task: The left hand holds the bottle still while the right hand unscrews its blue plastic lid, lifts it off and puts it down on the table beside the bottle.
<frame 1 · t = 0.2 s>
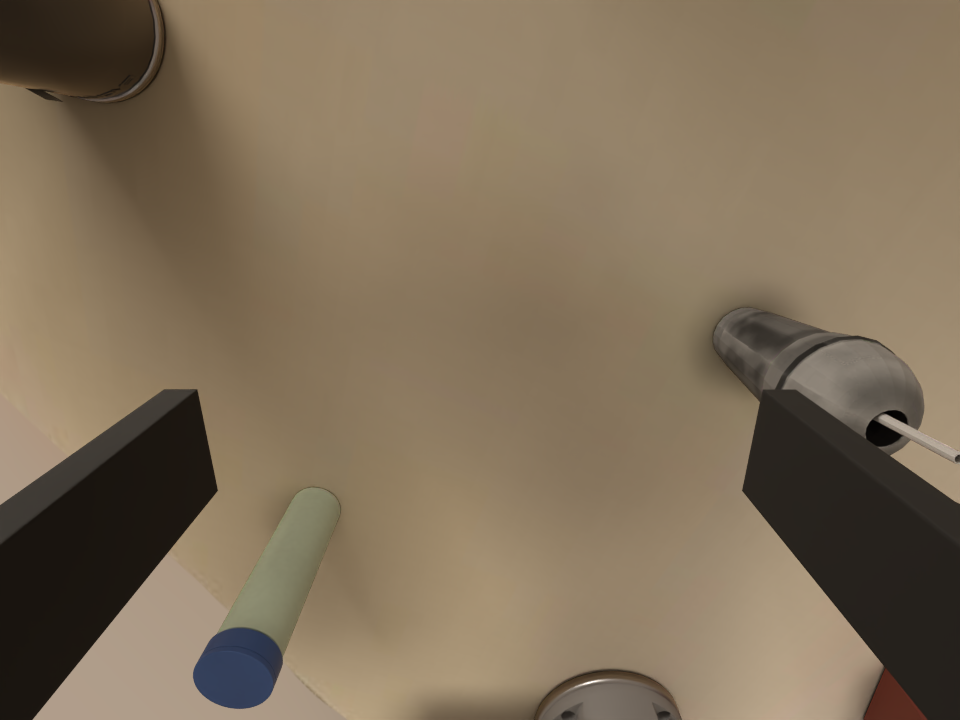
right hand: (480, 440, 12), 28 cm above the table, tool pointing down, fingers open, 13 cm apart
bottle: (316, 507, 46), on the table
beverage cup: (741, 334, 41), on the table
bucket: (945, 690, 54), on the table
lid: (235, 675, 31), point 16 cm above the table, screwed on, not yet turned
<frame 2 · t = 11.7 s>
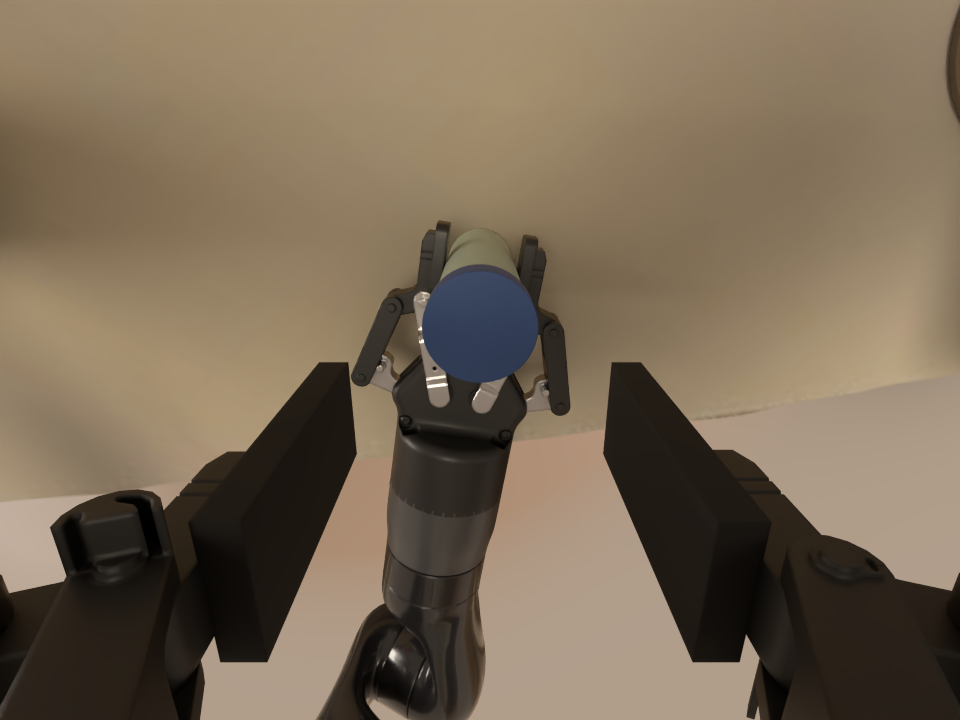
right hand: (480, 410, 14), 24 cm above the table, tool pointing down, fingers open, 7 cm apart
left hand: (486, 231, 30), fingers closed on bottle, 4 cm apart
bottle: (479, 260, 37), on the table, touching left hand
lid: (480, 326, 21), point 16 cm above the table, screwed on, not yet turned
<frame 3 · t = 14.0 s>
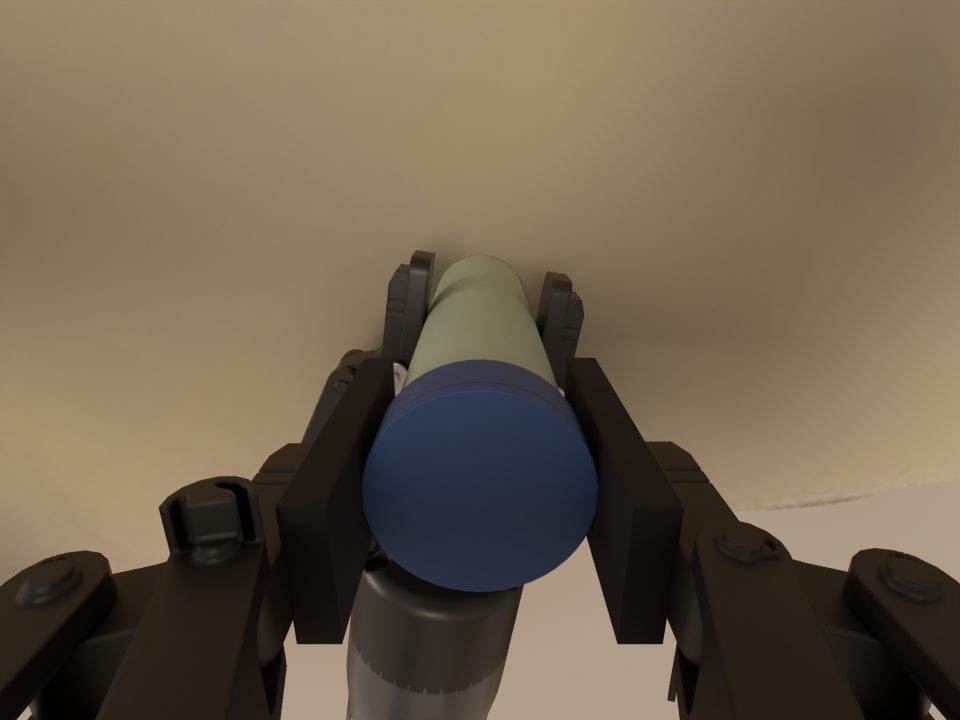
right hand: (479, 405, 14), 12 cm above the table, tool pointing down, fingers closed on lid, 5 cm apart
bottle: (479, 298, 26), on the table, touching left hand
lid: (479, 488, 11), point 16 cm above the table, screwed on, not yet turned, touching right hand
when the right hand's fingers open (13 cm above the table, at t = 15.1 s): lid stays where it is, point 16 cm above the table.
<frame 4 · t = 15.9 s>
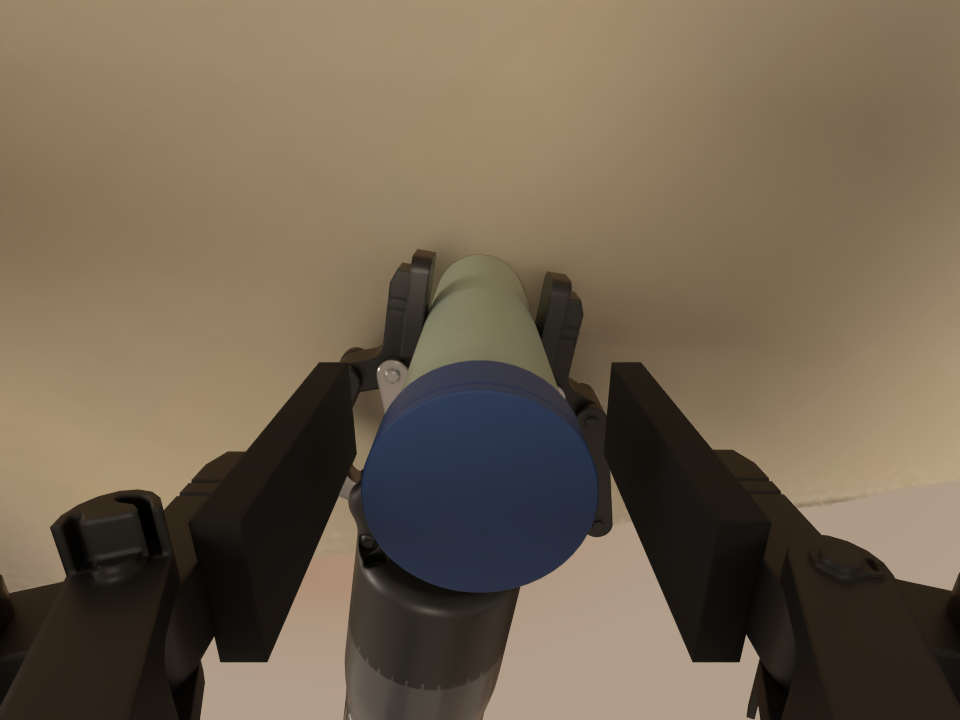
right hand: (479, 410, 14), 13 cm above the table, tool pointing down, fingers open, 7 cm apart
bottle: (479, 298, 26), on the table, touching left hand
lid: (479, 489, 11), point 16 cm above the table, turned 73° so far, risen 0.2 cm, still on its thread
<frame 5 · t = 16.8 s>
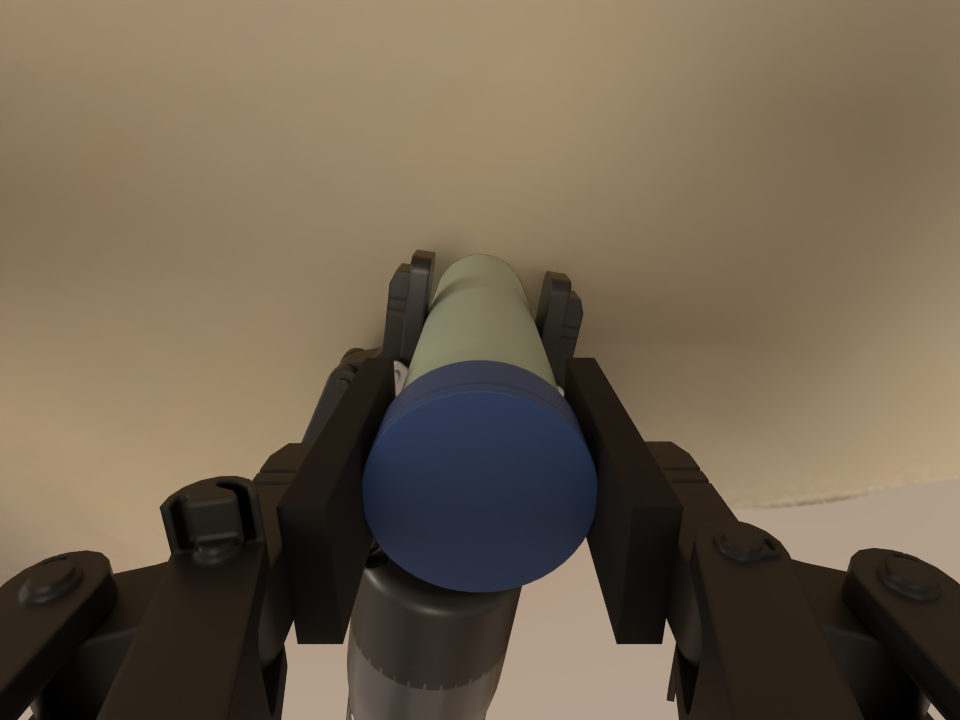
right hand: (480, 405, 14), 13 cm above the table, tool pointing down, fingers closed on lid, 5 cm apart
bottle: (479, 298, 26), on the table, touching left hand
lid: (479, 489, 11), point 16 cm above the table, turned 73° so far, risen 0.2 cm, still on its thread, touching right hand
when the right hand's fingers open (0 cm above the table, at t = 24.0 s): lid drops 3 cm, point 1 cm above the table.
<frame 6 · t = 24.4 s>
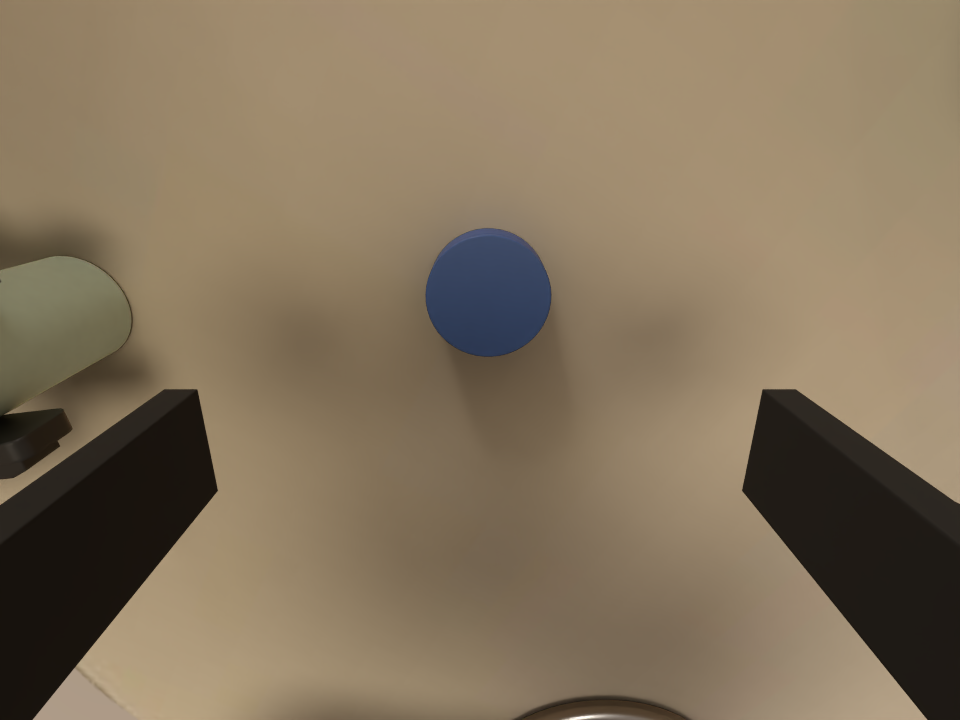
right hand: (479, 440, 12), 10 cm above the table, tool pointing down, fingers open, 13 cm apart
bottle: (78, 308, 21), on the table, touching left hand
lid: (488, 296, 20), point 1 cm above the table, off its thread
when the left hand's fingers open (6 cm above the table, at t = 24.6 s): bottle stays where it is, on the table.
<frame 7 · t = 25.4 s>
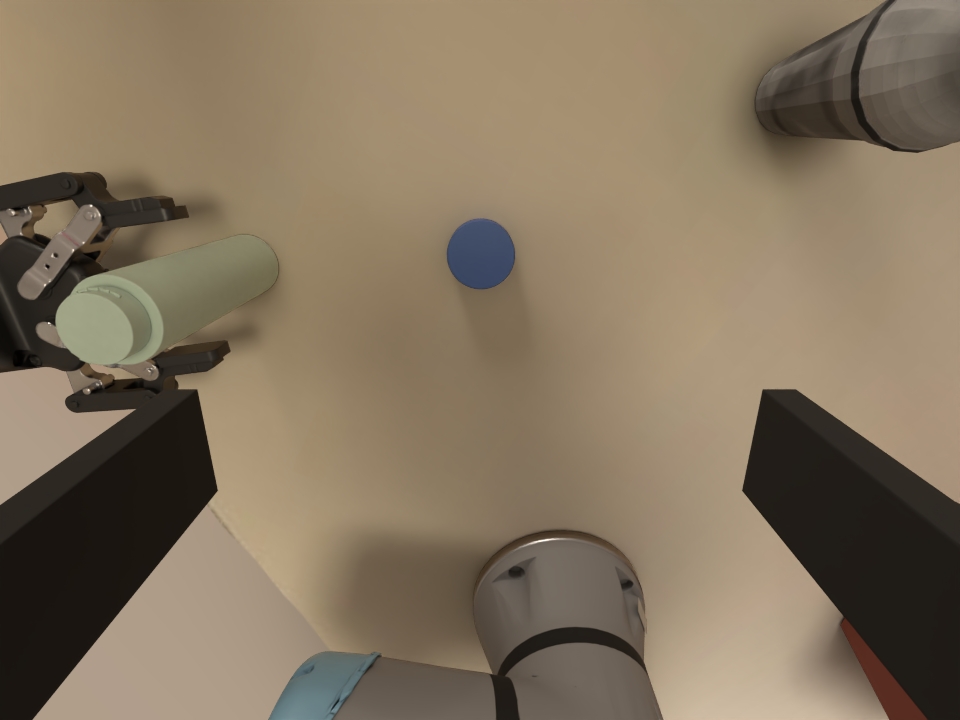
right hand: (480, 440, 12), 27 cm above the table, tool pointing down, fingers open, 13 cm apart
left hand: (203, 283, 32), fingers open, 8 cm apart
bottle: (248, 264, 38), on the table
beverage cup: (788, 97, 34), on the table
bucket: (933, 600, 49), on the table
lid: (480, 255, 36), point 1 cm above the table, off its thread
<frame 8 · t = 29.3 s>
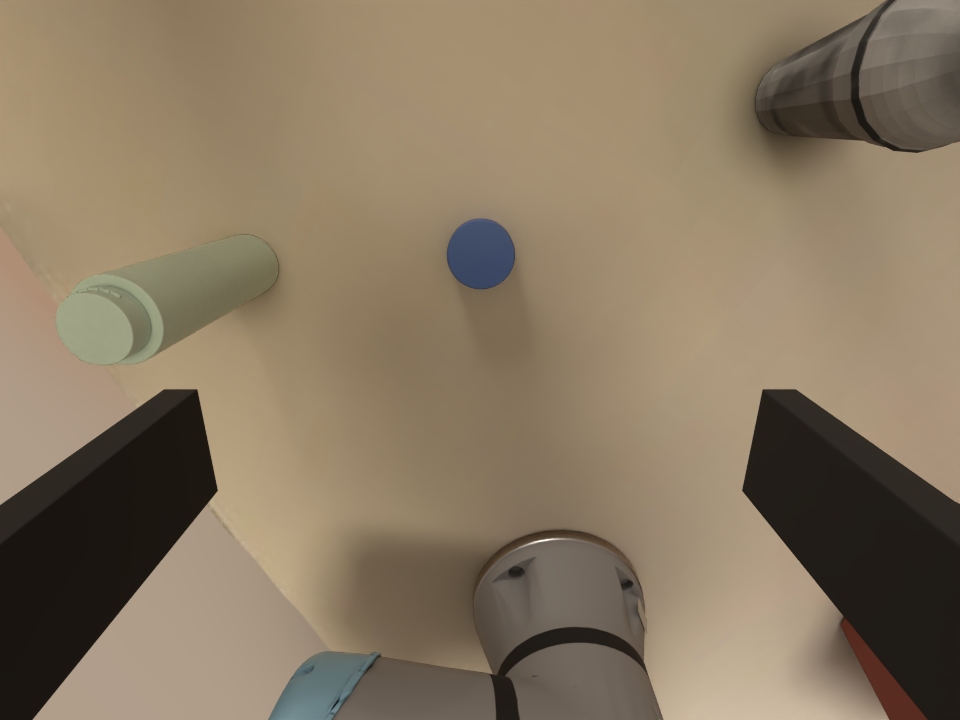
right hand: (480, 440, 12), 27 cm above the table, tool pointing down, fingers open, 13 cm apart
bottle: (248, 264, 38), on the table
beverage cup: (788, 97, 34), on the table
bucket: (933, 600, 49), on the table
lid: (480, 255, 36), point 1 cm above the table, off its thread
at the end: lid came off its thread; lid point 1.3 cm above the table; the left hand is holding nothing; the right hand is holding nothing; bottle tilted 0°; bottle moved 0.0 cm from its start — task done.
